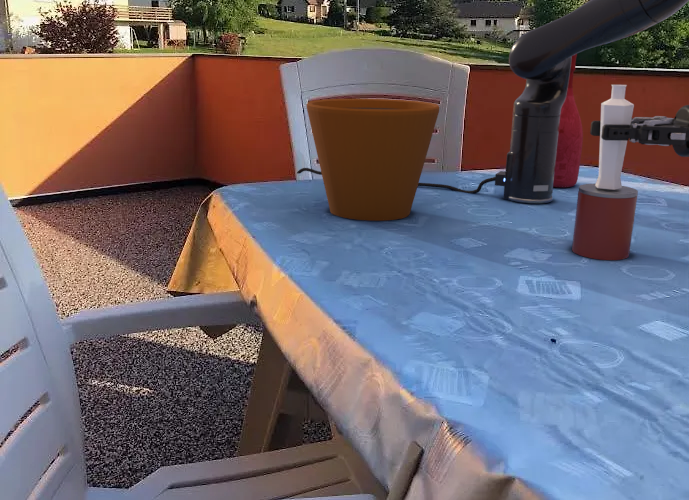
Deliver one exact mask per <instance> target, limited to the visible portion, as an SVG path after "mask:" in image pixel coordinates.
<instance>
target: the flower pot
mask: <svg viewBox="0 0 689 500" xmlns="http://www.w3.org/2000/svg"><path fill="white" fill-rule="evenodd" d="M306 111H307V116H308V120H309V124H310V125H309V126H310V129H311V134H312V137H313V142H314V147H315V151H316V155H317V159H318V164H319V168H320V172H321V173H322V175H321V176H322V182H323V185H324V191H325V194H326V199H327V203H328V208H329V212H330V213H331V215H333V216H337V217H339V218H344V219H350V220H356V221H368V222H369V221H370V222H371V221H373V222H374V221H376V222H377V221H379V222H381V221H382V222H383V221H393V220H395V221H396V220H400V219H401V220H402V219H405V218H407V217H409V216H410V214H411V211H412V207H413V204H414V201H415V196H416V193H417V190H418V187H419V186H418V183H420V179H421V176H422V173H423V169H424V165H425V162H426V159H427V155H428V152H429V148H430V145H431V141H432V137H433V134H434V131H435V127H436V124H437V120H438V117H439V113H440V105H438V104H437V103H434V102H433V103H432V102H427V101H421V100H408V99H394V98H393V99H390V98H327V99H314V100H310V101H308V102H307V103H306Z"/></svg>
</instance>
